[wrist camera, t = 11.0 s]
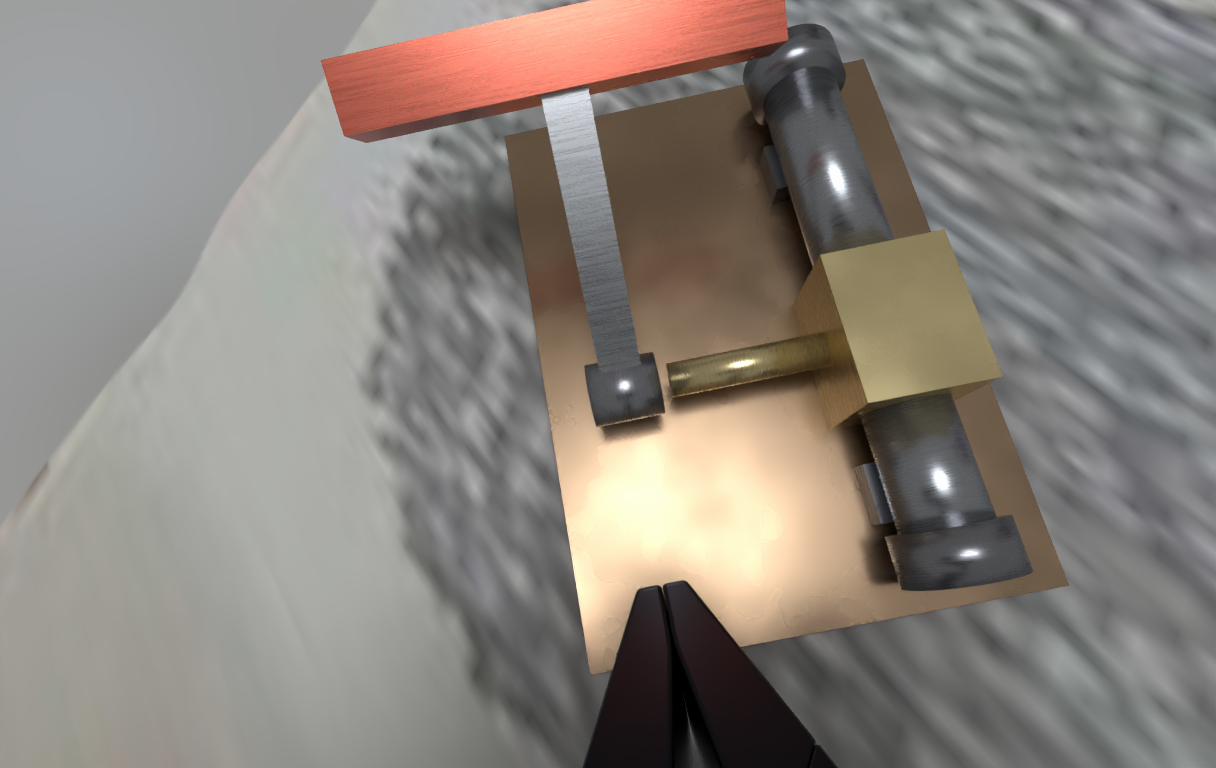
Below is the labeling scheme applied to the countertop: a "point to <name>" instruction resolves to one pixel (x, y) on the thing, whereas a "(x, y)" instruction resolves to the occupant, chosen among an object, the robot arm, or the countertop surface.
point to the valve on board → (777, 369)
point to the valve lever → (561, 124)
